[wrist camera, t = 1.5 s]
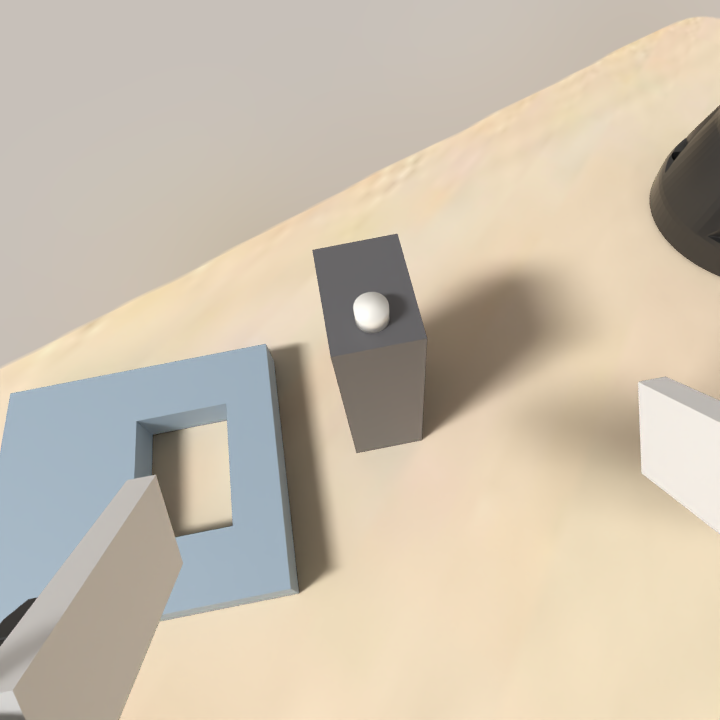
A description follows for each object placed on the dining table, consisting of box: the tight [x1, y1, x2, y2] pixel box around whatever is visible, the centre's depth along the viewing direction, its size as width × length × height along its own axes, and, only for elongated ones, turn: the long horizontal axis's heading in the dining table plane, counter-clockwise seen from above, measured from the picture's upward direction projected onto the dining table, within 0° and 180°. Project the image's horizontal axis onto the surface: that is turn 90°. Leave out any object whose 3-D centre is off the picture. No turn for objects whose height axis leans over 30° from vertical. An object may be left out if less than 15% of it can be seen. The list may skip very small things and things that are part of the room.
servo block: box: [313, 234, 427, 453], centre depth 30 cm, size 4×6×14 cm
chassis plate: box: [0, 344, 299, 623], centre depth 34 cm, size 18×16×2 cm
